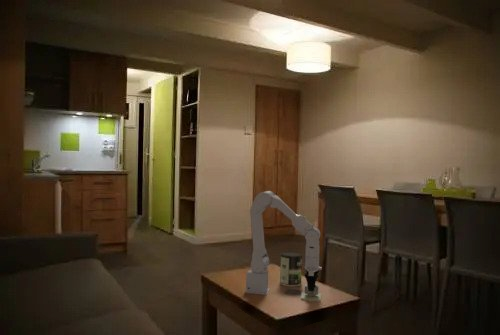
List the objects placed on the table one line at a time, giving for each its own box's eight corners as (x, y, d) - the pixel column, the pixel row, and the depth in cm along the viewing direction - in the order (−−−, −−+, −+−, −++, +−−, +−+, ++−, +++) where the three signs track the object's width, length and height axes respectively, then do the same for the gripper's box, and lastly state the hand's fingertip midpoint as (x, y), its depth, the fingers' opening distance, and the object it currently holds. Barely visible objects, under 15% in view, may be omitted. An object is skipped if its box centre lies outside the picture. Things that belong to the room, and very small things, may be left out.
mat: (284, 294, 165) (284, 293, 165) (286, 289, 171) (286, 288, 171) (300, 295, 163) (300, 295, 163) (301, 290, 170) (301, 290, 170)
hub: (300, 300, 158) (301, 291, 158) (302, 294, 165) (302, 286, 165) (320, 302, 156) (320, 293, 156) (320, 296, 164) (321, 287, 164)
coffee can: (303, 282, 183) (304, 252, 183) (298, 288, 174) (299, 257, 174) (283, 279, 187) (284, 250, 187) (276, 284, 178) (277, 254, 178)
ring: (304, 294, 159) (304, 287, 159) (305, 290, 164) (305, 283, 164) (317, 296, 157) (318, 288, 157) (318, 291, 163) (318, 284, 163)
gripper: (321, 261, 153) (320, 295, 153) (322, 253, 167) (321, 284, 167) (303, 259, 154) (302, 293, 154) (306, 252, 168) (305, 282, 168)
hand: (311, 288), depth 161 cm, fingers closed on ring, 6 cm apart
